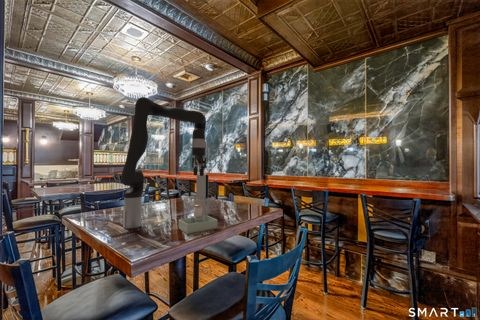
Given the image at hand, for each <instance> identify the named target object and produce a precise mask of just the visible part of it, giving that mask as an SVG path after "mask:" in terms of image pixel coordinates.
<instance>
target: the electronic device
mask: <svg viewBox="0 0 480 320" xmlns="http://www.w3.org/2000/svg"><path fill="white" fill-rule="evenodd" d="M209 177H210V175H209V173H204V176H200V173H197V175H196V185H195V186H196V192H195V193H196V194H195V196H196V198H195V203H194V205H197V204H201V205H203V206H202V216H209V215H210V198H209V190H210V189H209V186H210V185H209V182H210V181H209V180H210V179H209Z"/></svg>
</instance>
